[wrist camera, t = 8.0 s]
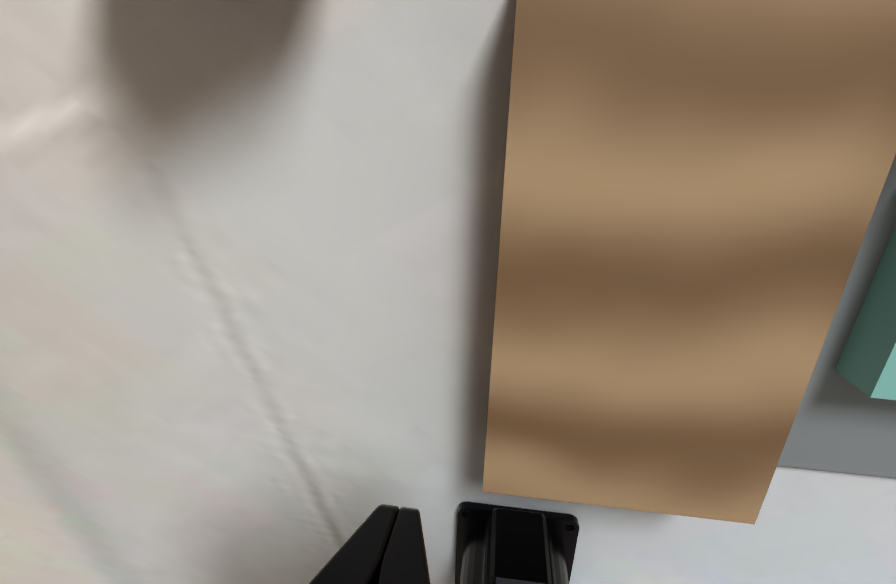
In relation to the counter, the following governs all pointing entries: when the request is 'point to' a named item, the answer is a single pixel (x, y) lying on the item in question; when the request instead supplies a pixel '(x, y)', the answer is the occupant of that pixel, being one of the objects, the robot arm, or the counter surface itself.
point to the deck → (677, 240)
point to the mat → (831, 395)
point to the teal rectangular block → (875, 334)
